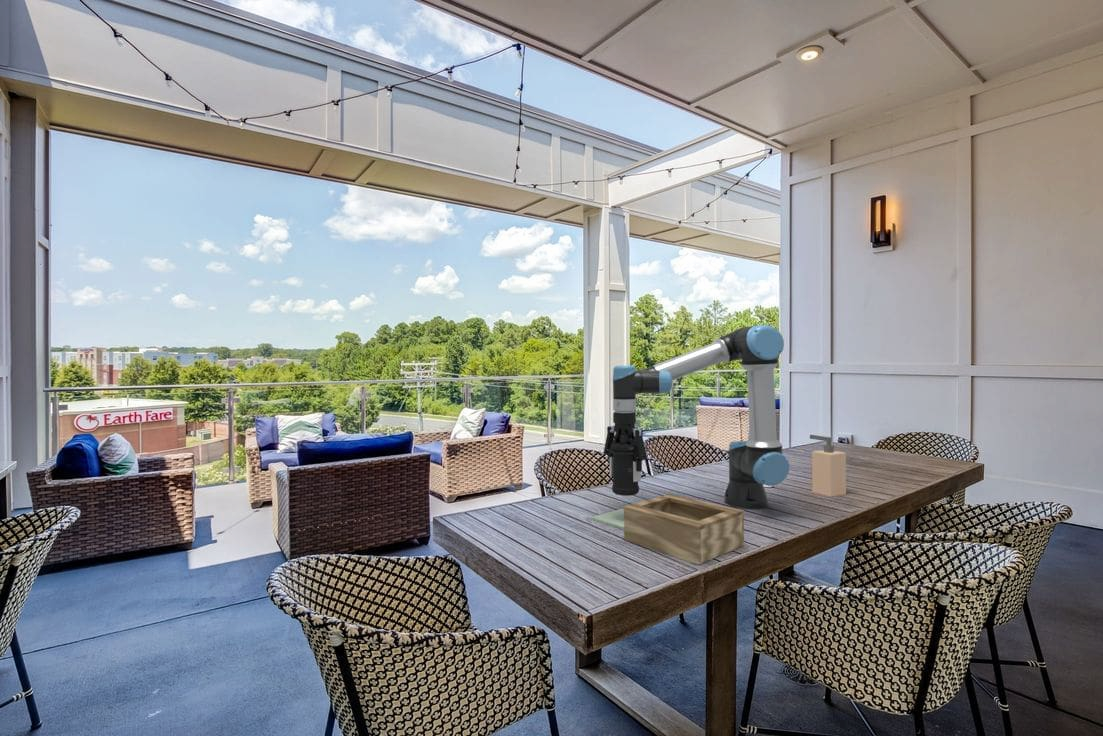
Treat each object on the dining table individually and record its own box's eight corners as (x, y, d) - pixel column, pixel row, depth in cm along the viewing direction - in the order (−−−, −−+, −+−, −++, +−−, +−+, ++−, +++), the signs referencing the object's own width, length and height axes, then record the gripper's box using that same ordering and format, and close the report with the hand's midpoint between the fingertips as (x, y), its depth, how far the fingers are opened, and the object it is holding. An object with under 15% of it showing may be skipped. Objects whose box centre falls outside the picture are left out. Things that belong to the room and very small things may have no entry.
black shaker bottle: (617, 497, 172) (617, 435, 172) (605, 489, 183) (605, 431, 183) (644, 495, 175) (643, 434, 174) (630, 487, 185) (630, 430, 185)
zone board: (623, 510, 190) (623, 508, 190) (659, 520, 178) (659, 518, 178) (591, 519, 180) (591, 517, 180) (627, 530, 168) (627, 528, 168)
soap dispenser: (846, 494, 209) (846, 438, 209) (830, 496, 206) (830, 439, 205) (818, 487, 221) (818, 434, 220) (803, 489, 217) (803, 435, 217)
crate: (670, 524, 174) (669, 493, 173) (743, 545, 154) (743, 510, 154) (624, 539, 159) (623, 506, 159) (698, 564, 140) (698, 526, 139)
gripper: (592, 410, 185) (593, 474, 185) (643, 414, 167) (643, 486, 168) (607, 408, 189) (608, 471, 190) (658, 413, 172) (658, 482, 173)
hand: (624, 478), depth 179 cm, fingers closed on black shaker bottle, 10 cm apart
